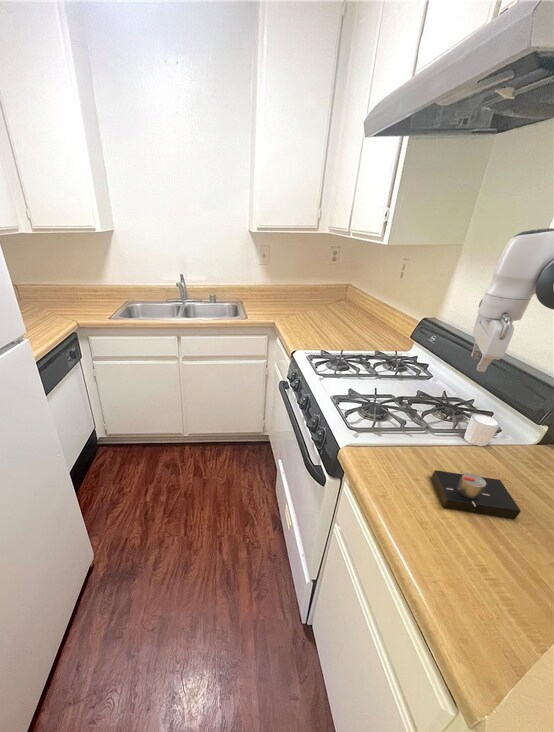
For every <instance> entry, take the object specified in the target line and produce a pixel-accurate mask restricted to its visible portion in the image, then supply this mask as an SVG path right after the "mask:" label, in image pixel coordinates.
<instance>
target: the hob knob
mask: <svg viewBox="0 0 554 732" xmlns="http://www.w3.org/2000/svg"><path fill="white" fill-rule="evenodd" d="M462 474H463V473H462ZM481 477H482V476H480V475H478V474H474V473H471V472H467V473H464V474H463V476H462V478H461V479H460V481H459V483H458V485H457V487H456V490H457V492H458V493H459V494H460V495H462V496H464V497H466V498H469V499H477V498H479V496H480V495H481V493H482V491H483V489H484V488H485V486H486V481H485V480H484V479H483V478H481Z"/></svg>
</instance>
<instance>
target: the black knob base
mask: <svg viewBox="0 0 554 732" xmlns="http://www.w3.org/2000/svg"><path fill="white" fill-rule="evenodd" d="M462 476H463V473H457V472H450V471H443V470H436V469H434V471H433V473H432V475H431V477H430V480H431V483H432V485H433V488H434V490H435V493H436V495H437V498H438V500H439V502H440V505H441V507H442V509H446V510H451V511H456V512H457V511H458V512H463V513H468V514H469V513H470V514H476V515H483V516H488V517H494V518H500V519H508V520H512V521H514V520H515V521H516V518H518V516H519V515H520V513H521V512H522V510H521V509H520V507H519V506H518V504H517V503H516V501H515V500H514V498H513V497H512V495H511V494H510V492H509V491H508V489H507V488H506V487H505V484H504V483H503V482H502V481H501V479H498V478H490V477H485V476H480V477H481V478H483V479H484V480H485V481H486V486H485V488H484V489H483V491H482V493H481V495H480V496H479V498H477V499H469V498H466V497H464V496H462V495H460V494H459V493H458V492H457V490H456V487H457V485H458V483H459V481H460V479H461V478H462Z"/></svg>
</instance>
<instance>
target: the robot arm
mask: <svg viewBox="0 0 554 732" xmlns="http://www.w3.org/2000/svg"><path fill="white" fill-rule="evenodd" d="M534 295H535V297H536V298H537V300H538V302H539V303H540V304H541V305H542V306H544V307H545V308H547V309H550V310H554V228H553V227H552V228H551V227H550V228H549V227H548V228H538V229H531V230H523V231H522V232H519V233H517V234H515V235H514V236H513V237H511V238H510V239H509V240H508V241H507V243H506V245H505V247H504V248H503V251H502V252H501V255H500V256H499V259H498V261H497V263H496V266H495V268H494V270H493V274H492V280H491V283H490V285H489V286H488V288H486V290H485V293H484V295H483V298H482V299H480V301H479V304H478V310H477V316H476V319H475V323H474V326H473V329H472V336H473V338H474V340H475V342H474V344H473V349H472V352H471V355H470V357H471V358H472V360H479V359H480V361H479V362H478V363H477V365H476V371H478V372H479V373H485V372H486V371H487V369H488V367H489V366H490V364H491V363H492V362H493V361H494V360H498V361H499V360H501V359H502V358H504V356H505V354H506V352H507V350H508V347H509V344H510V342H511V340H512V337H513V335H514V332H515V326H514V325H513V323H514V322H516V321H521V320H522V319H523V316H524V314H525V312H526V310H527V309H528V306H529V304H530V301H532V298H533V296H534Z"/></svg>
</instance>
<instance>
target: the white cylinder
mask: <svg viewBox="0 0 554 732" xmlns="http://www.w3.org/2000/svg"><path fill="white" fill-rule="evenodd" d="M500 427H501V422H500V421H499V420H498V419H497V418H495V417H492V416H490V415H487V414H483V413H482V414H481V413H476V414H472V415H471V416H470V419H469V421H468V424H467V427H466V430H465V433H464V436H463V439H464V440H465V441H466V442H467V443H469V444H472V445H474V446H480V447H485V446H487V445H488V444H489V442H490V441H491V440H492V438H493V437H494V435H495V434H496V433H497V431H498V430H499V428H500Z"/></svg>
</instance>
